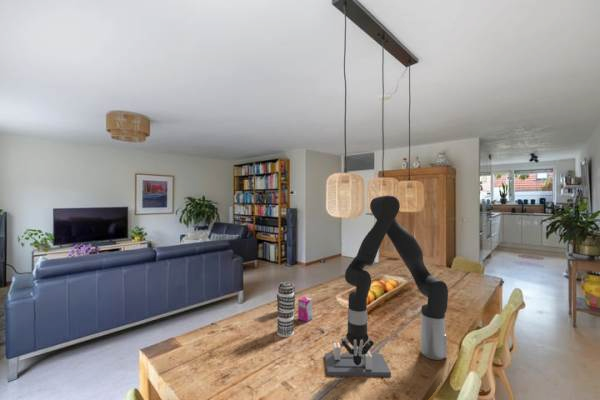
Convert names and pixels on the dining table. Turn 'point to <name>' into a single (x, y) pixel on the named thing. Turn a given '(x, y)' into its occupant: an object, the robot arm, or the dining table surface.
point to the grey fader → (367, 360)
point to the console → (355, 366)
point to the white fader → (337, 351)
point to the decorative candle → (285, 309)
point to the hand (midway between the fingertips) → (357, 363)
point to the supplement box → (305, 309)
